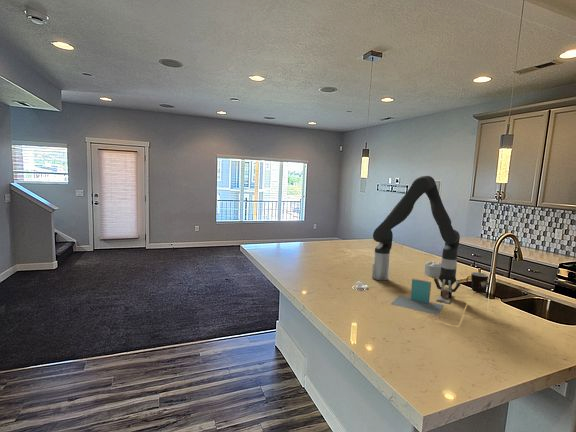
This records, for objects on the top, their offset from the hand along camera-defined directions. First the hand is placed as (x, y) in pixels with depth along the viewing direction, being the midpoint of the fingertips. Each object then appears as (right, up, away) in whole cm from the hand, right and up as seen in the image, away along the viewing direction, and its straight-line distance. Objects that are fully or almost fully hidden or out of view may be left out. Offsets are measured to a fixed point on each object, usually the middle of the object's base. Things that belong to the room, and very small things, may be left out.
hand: (445, 297), depth 173 cm
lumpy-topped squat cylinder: (+14, +4, +46) cm, 48 cm away
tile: (-17, 0, -8) cm, 19 cm away
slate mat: (-21, -1, -12) cm, 24 cm away
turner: (-1, 0, -1) cm, 2 cm away
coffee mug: (+25, 0, +15) cm, 29 cm away
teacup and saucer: (-43, +1, +10) cm, 44 cm away
